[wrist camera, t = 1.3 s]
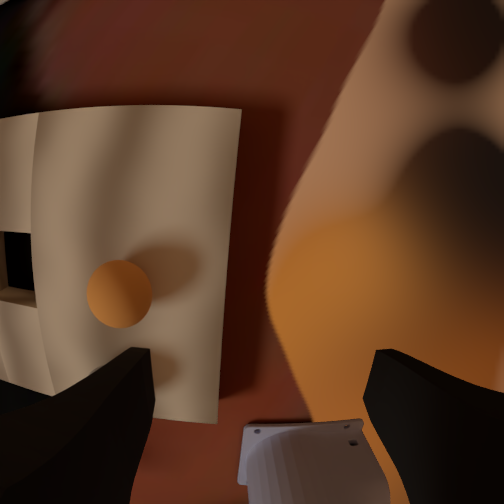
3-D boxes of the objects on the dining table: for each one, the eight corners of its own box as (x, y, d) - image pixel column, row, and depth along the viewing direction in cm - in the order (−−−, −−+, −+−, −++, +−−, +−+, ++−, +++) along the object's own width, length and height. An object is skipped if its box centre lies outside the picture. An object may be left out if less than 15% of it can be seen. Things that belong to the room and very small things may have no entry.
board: (239, 119, 16) (241, 109, 14) (217, 400, 20) (217, 423, 18) (-11, 129, 15) (-32, 126, 12) (5, 360, 18) (-11, 374, 16)
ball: (159, 256, 15) (142, 274, 12) (158, 315, 16) (144, 344, 13) (100, 250, 15) (73, 266, 12) (102, 308, 15) (79, 334, 12)
